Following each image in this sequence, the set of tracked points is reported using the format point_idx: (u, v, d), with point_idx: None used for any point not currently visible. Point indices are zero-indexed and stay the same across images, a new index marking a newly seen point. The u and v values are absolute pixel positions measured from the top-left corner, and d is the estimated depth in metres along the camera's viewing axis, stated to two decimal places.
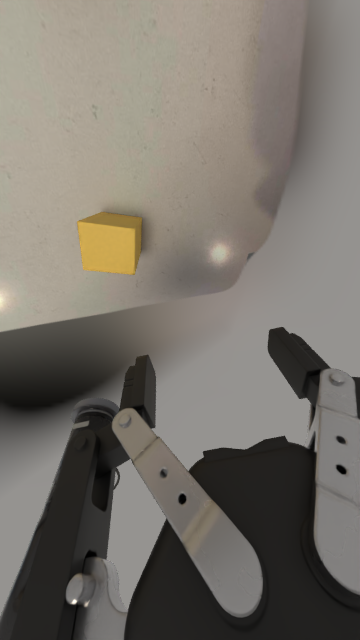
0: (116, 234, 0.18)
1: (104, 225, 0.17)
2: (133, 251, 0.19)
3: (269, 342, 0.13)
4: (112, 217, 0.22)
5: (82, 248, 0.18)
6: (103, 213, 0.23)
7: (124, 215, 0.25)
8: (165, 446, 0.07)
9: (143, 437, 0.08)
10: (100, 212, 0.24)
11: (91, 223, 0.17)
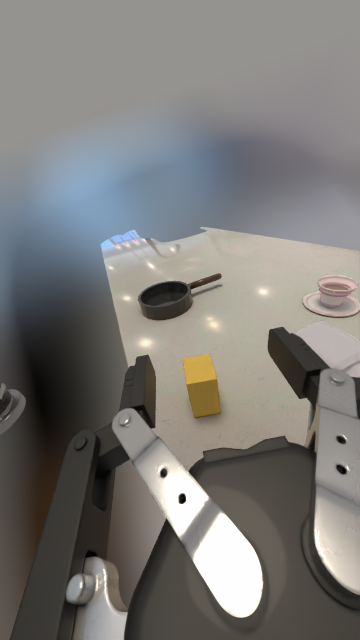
0: (209, 370, 0.29)
1: (212, 364, 0.30)
2: (202, 380, 0.27)
3: (269, 342, 0.13)
4: None
5: (195, 357, 0.31)
6: None
7: None
8: (165, 446, 0.07)
9: (143, 437, 0.08)
10: None
11: (210, 359, 0.30)
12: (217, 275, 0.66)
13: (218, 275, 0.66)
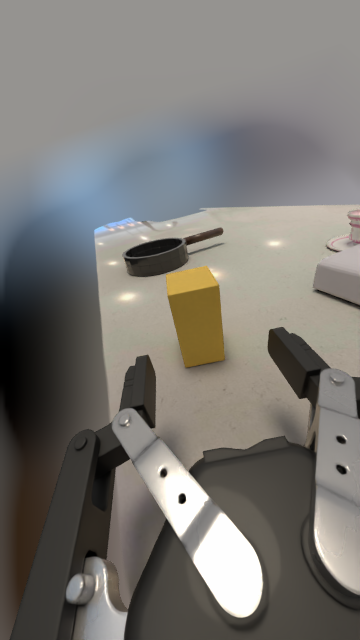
0: (206, 278, 0.18)
1: (211, 273, 0.19)
2: (194, 288, 0.16)
3: (269, 342, 0.13)
4: None
5: (185, 270, 0.20)
6: None
7: None
8: (165, 446, 0.07)
9: (143, 437, 0.08)
10: None
11: (208, 270, 0.19)
12: (218, 229, 0.55)
13: (219, 229, 0.55)
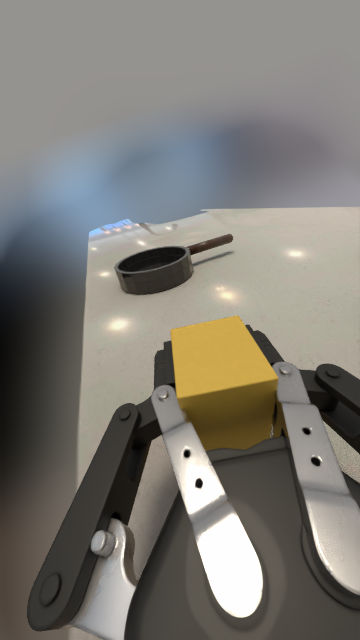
0: (248, 353, 0.10)
1: (252, 338, 0.10)
2: (230, 384, 0.08)
3: None
4: None
5: (203, 324, 0.12)
6: None
7: None
8: (193, 430, 0.07)
9: (176, 415, 0.09)
10: None
11: (244, 327, 0.11)
12: (227, 236, 0.47)
13: (228, 236, 0.47)
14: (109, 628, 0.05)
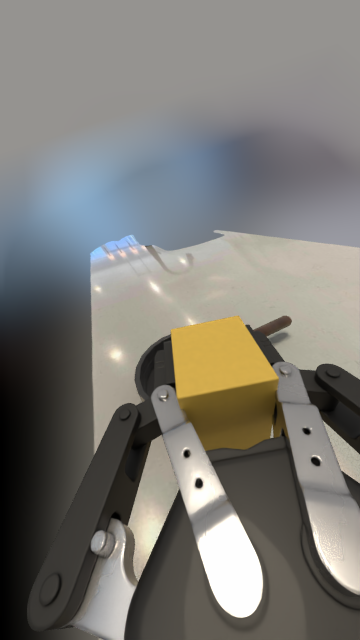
0: (248, 353, 0.10)
1: (252, 338, 0.10)
2: (230, 384, 0.08)
3: None
4: None
5: (203, 324, 0.12)
6: None
7: None
8: (193, 430, 0.07)
9: (176, 415, 0.09)
10: None
11: (244, 327, 0.11)
12: (285, 320, 0.35)
13: (286, 320, 0.35)
14: (109, 628, 0.05)
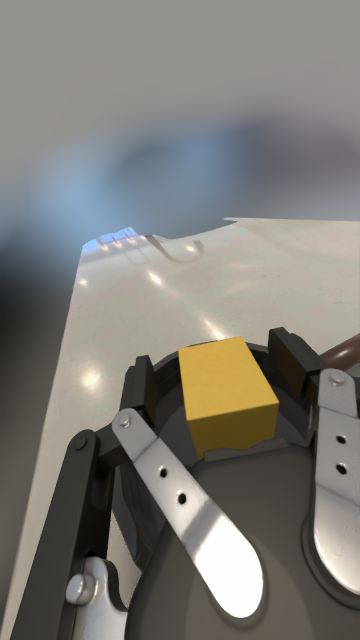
0: (250, 376, 0.10)
1: (254, 361, 0.11)
2: (235, 407, 0.09)
3: (269, 342, 0.13)
4: None
5: (208, 344, 0.13)
6: None
7: None
8: (165, 446, 0.07)
9: (143, 437, 0.08)
10: None
11: (247, 348, 0.12)
12: None
13: None
14: None
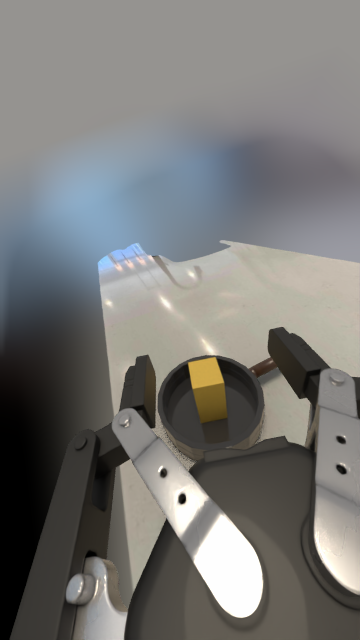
0: (216, 373, 0.28)
1: (218, 367, 0.29)
2: (209, 384, 0.27)
3: (269, 342, 0.13)
4: None
5: (201, 360, 0.31)
6: None
7: None
8: (165, 446, 0.07)
9: (143, 437, 0.08)
10: None
11: (216, 362, 0.30)
12: None
13: None
14: None
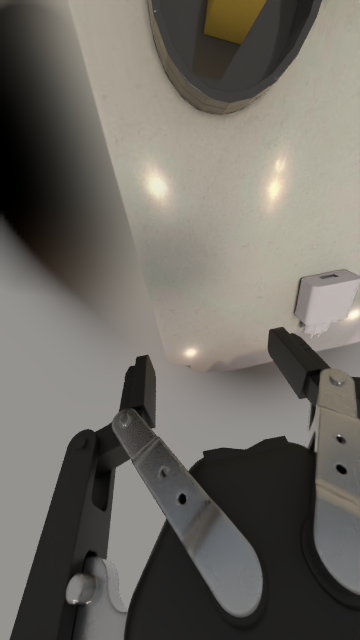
0: None
1: None
2: None
3: (269, 342, 0.13)
4: None
5: None
6: None
7: None
8: (165, 446, 0.07)
9: (143, 437, 0.08)
10: None
11: None
12: None
13: None
14: None
